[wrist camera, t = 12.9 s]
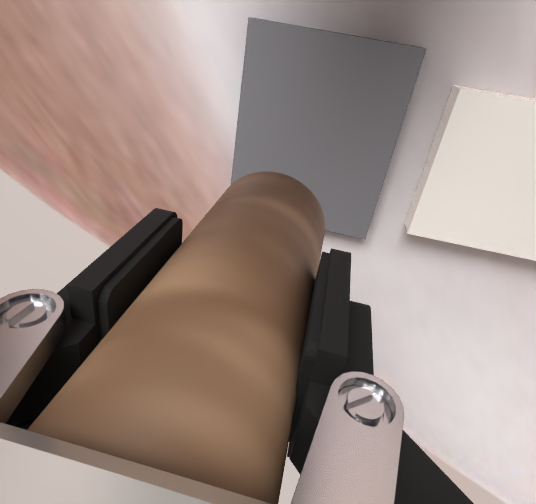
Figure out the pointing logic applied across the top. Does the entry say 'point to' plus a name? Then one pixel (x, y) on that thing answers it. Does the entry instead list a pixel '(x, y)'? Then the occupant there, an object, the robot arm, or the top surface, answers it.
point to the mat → (324, 114)
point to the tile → (480, 175)
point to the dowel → (208, 348)
